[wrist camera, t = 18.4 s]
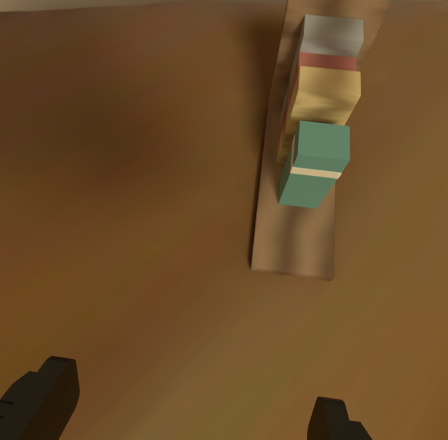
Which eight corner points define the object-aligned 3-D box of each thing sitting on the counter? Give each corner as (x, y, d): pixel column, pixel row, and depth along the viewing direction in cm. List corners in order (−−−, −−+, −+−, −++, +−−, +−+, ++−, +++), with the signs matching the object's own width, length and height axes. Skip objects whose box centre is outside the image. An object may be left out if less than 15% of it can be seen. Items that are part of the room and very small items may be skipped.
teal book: (277, 204, 43) (297, 154, 31) (280, 176, 44) (299, 120, 33) (316, 209, 42) (350, 161, 31) (317, 181, 44) (350, 125, 33)
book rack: (250, 270, 41) (268, 219, 24) (267, 107, 50) (289, -12, 33) (329, 280, 41) (404, 236, 24) (333, 114, 50) (389, -3, 33)
